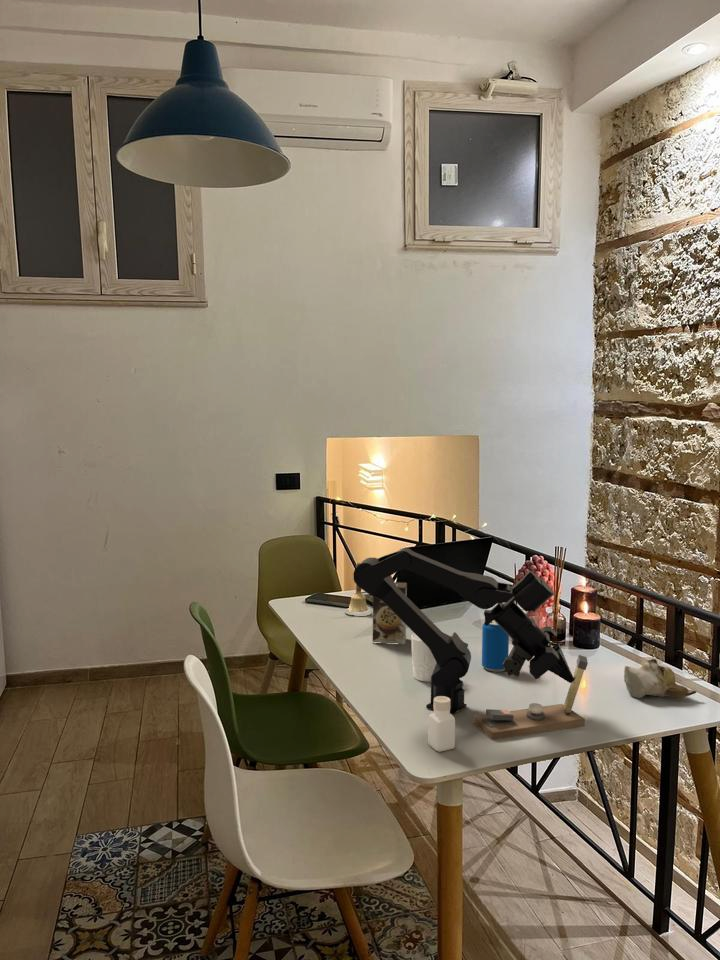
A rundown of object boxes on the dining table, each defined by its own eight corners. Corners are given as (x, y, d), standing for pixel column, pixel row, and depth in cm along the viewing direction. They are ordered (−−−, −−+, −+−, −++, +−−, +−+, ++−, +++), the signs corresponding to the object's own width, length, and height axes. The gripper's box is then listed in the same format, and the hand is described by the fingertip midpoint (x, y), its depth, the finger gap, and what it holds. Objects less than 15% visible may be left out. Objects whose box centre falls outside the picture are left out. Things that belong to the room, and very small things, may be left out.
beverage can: (489, 661, 189) (490, 615, 188) (512, 667, 185) (513, 620, 184) (476, 668, 184) (477, 621, 183) (500, 674, 180) (501, 626, 179)
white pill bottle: (437, 753, 139) (438, 704, 138) (427, 744, 143) (427, 697, 142) (455, 749, 141) (456, 701, 140) (444, 740, 145) (445, 693, 144)
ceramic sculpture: (613, 651, 171) (672, 651, 174) (610, 687, 172) (668, 687, 174) (639, 667, 160) (701, 667, 163) (634, 706, 161) (697, 705, 164)
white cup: (409, 671, 182) (409, 631, 181) (441, 671, 182) (442, 631, 182) (412, 683, 175) (412, 641, 174) (445, 683, 175) (446, 641, 174)
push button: (526, 709, 153) (526, 704, 153) (537, 708, 154) (537, 702, 154) (533, 714, 151) (533, 709, 150) (544, 713, 151) (544, 707, 151)
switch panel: (473, 723, 152) (473, 713, 152) (561, 710, 159) (562, 700, 159) (492, 740, 145) (492, 729, 145) (584, 725, 151) (584, 715, 151)
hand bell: (372, 610, 237) (373, 560, 235) (369, 617, 229) (369, 566, 227) (347, 609, 238) (347, 560, 236) (343, 616, 230) (343, 565, 228)
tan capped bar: (562, 713, 153) (579, 660, 151) (562, 706, 157) (578, 654, 155) (570, 716, 153) (587, 663, 151) (569, 709, 156) (586, 657, 154)
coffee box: (371, 644, 203) (372, 586, 201) (374, 636, 209) (374, 580, 208) (405, 645, 202) (405, 587, 200) (406, 638, 208) (407, 581, 207)
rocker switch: (485, 714, 150) (486, 708, 150) (505, 714, 152) (506, 709, 152) (491, 719, 147) (493, 713, 147) (512, 720, 149) (513, 714, 149)
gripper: (492, 637, 166) (542, 688, 165) (488, 665, 148) (544, 723, 147) (529, 604, 164) (580, 656, 162) (529, 629, 145) (586, 688, 144)
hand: (572, 681), depth 154 cm, fingers closed, pressing on tan capped bar
